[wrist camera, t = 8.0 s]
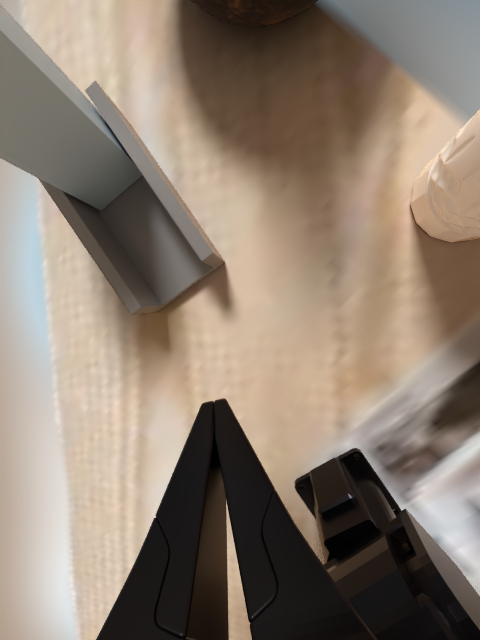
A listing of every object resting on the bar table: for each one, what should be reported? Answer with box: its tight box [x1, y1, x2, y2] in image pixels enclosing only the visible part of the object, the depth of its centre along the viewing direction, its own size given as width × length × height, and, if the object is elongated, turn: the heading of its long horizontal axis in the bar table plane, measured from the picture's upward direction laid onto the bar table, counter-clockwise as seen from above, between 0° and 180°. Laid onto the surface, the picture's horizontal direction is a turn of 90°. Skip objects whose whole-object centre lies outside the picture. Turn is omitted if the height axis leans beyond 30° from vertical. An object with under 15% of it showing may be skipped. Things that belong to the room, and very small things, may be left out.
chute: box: [38, 81, 225, 314], centre depth 20 cm, size 14×8×4 cm, turn 35°
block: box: [0, 4, 142, 210], centre depth 14 cm, size 5×5×14 cm
